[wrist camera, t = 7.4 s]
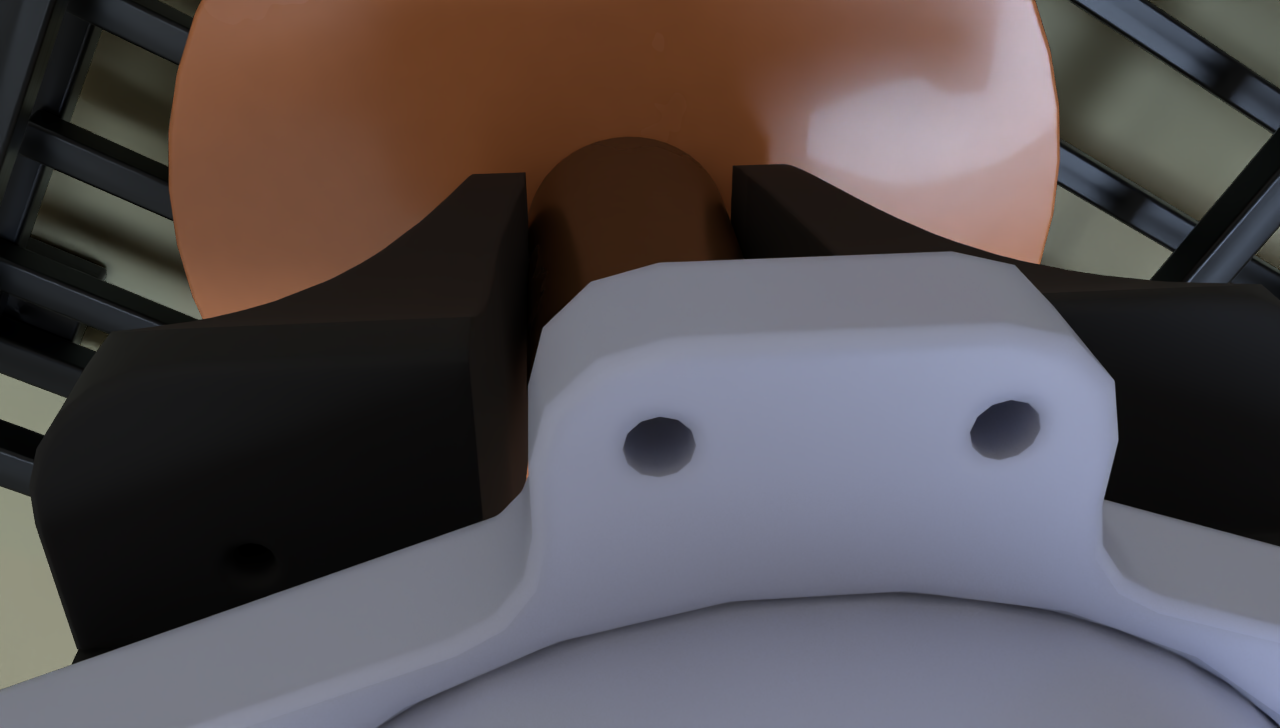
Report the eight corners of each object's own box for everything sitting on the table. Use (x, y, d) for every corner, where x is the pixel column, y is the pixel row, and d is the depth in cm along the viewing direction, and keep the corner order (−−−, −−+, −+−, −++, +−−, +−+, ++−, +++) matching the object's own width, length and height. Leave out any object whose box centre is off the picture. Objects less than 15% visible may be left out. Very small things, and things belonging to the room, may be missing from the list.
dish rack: (1586, 153, 19) (2028, 357, 13) (1028, 720, 24) (1174, 1027, 19) (331, -768, 12) (168, -1127, 7) (-31, 308, 18) (-279, 596, 12)
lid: (1200, 28, 15) (1457, 167, 11) (745, 609, 19) (804, 865, 15) (409, -506, 11) (343, -598, 7) (76, 349, 16) (-80, 588, 12)
